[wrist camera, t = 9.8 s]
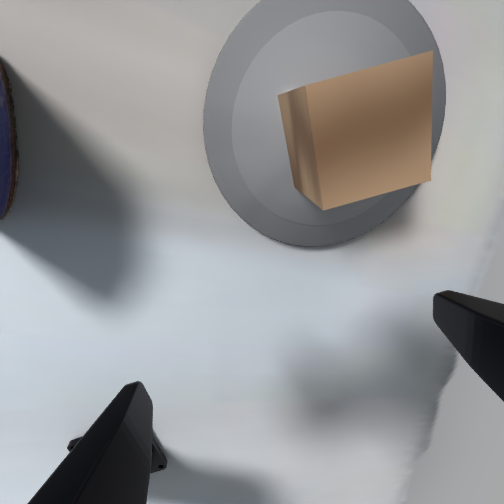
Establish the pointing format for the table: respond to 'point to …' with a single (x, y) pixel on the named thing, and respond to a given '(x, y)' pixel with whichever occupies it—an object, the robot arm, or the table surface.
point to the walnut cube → (361, 132)
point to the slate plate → (291, 77)
